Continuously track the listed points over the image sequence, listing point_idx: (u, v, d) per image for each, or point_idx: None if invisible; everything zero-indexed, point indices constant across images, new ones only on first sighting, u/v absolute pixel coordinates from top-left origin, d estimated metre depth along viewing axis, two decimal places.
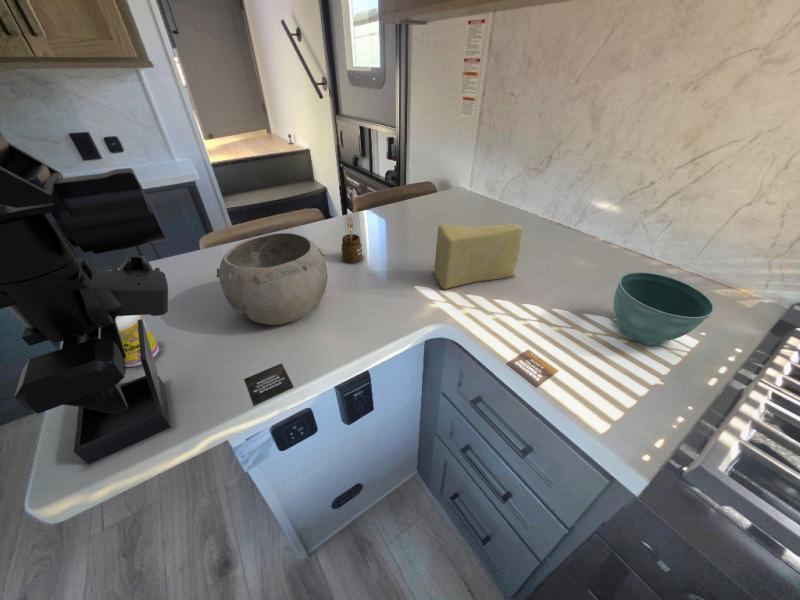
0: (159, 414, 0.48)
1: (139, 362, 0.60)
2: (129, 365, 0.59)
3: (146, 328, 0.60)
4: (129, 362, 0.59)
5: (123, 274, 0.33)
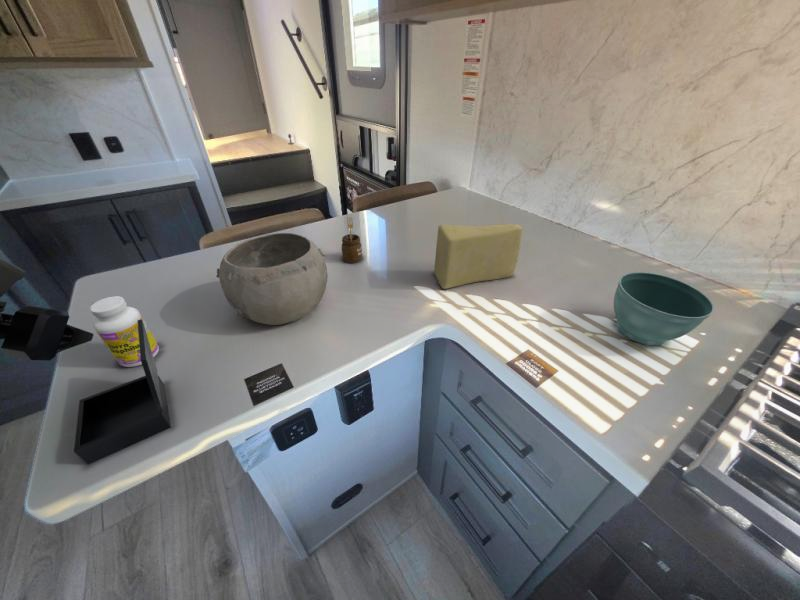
0: (159, 414, 0.48)
1: (139, 362, 0.60)
2: (129, 365, 0.59)
3: (146, 328, 0.60)
4: (129, 362, 0.59)
5: None
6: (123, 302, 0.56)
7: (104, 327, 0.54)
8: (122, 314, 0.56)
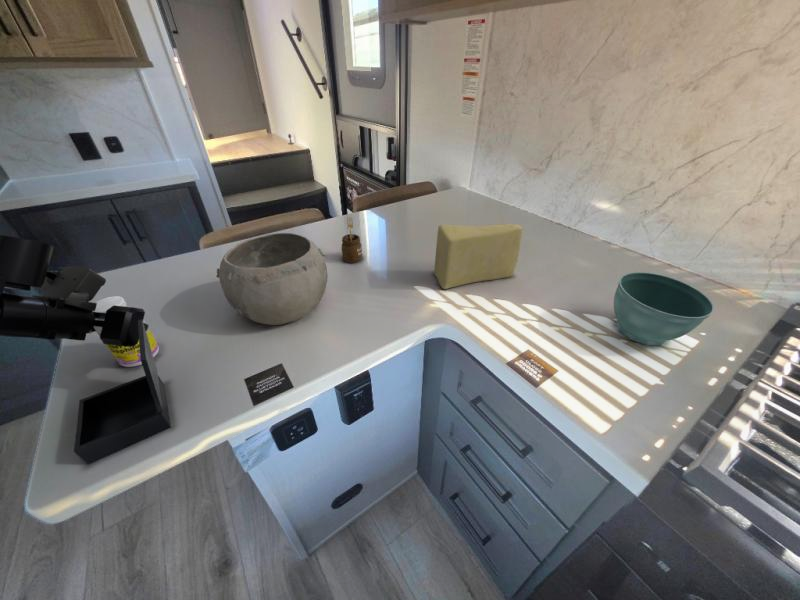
0: (159, 414, 0.48)
1: (139, 362, 0.60)
2: (129, 365, 0.59)
3: None
4: (129, 362, 0.59)
5: (57, 284, 0.48)
6: (123, 302, 0.56)
7: None
8: None
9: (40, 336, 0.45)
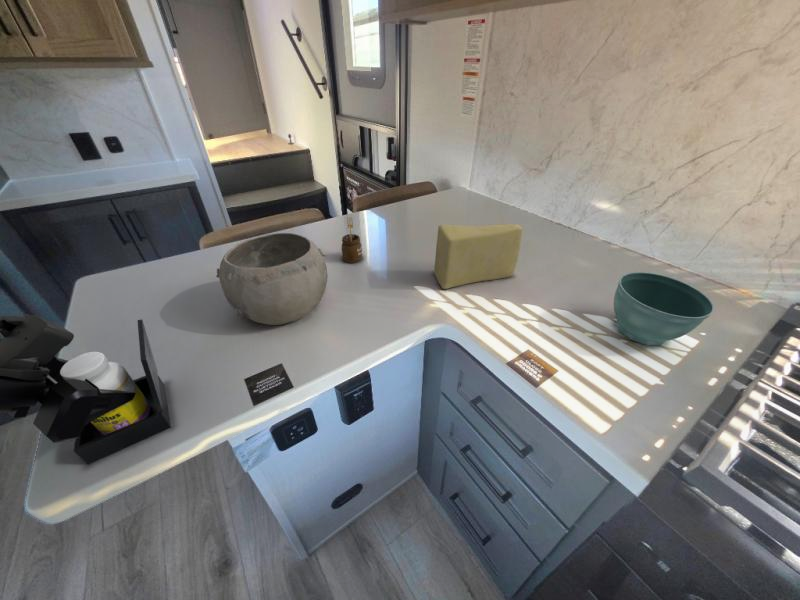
0: (159, 414, 0.48)
1: None
2: (105, 434, 0.47)
3: None
4: (104, 432, 0.47)
5: (8, 340, 0.37)
6: (100, 365, 0.43)
7: None
8: (97, 379, 0.43)
9: None
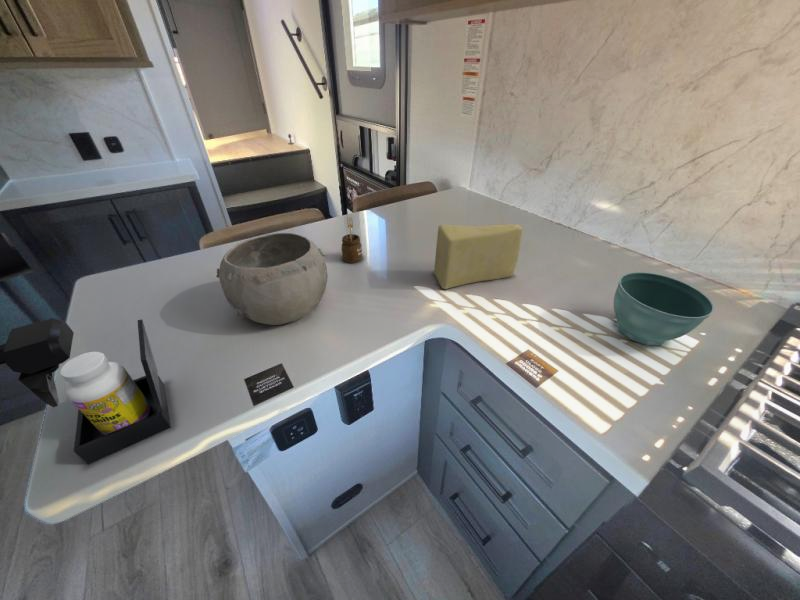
0: (159, 414, 0.48)
1: None
2: (105, 434, 0.47)
3: (130, 394, 0.47)
4: (104, 432, 0.47)
5: None
6: (100, 365, 0.43)
7: (71, 393, 0.42)
8: (97, 379, 0.43)
9: None
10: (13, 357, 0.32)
